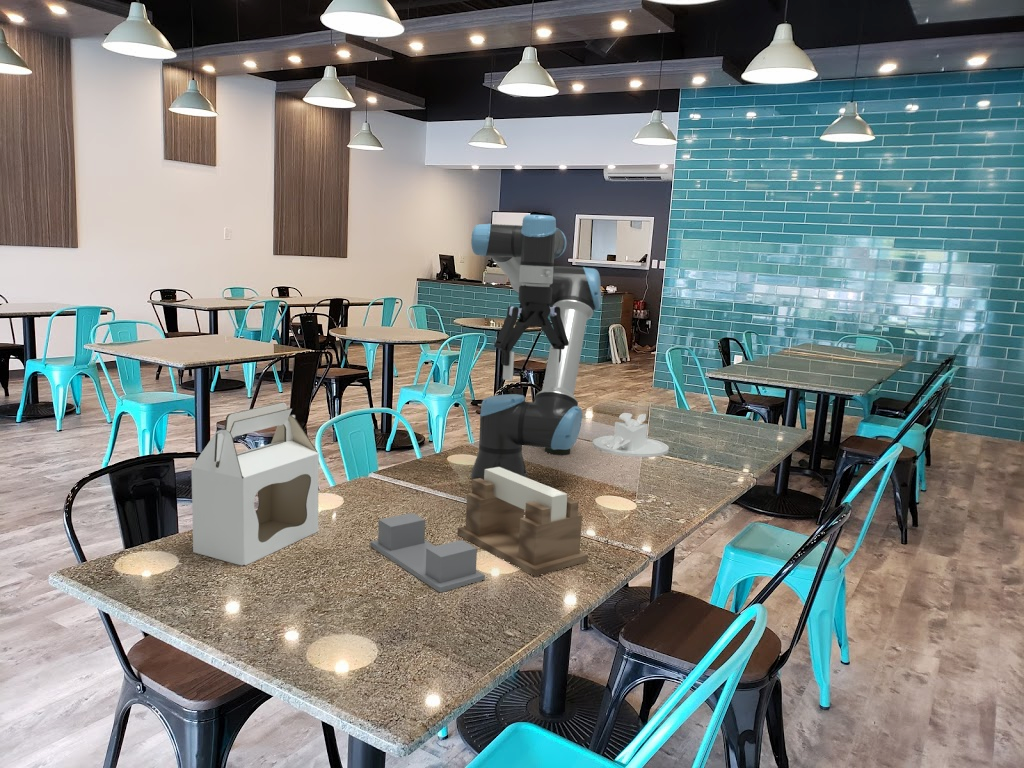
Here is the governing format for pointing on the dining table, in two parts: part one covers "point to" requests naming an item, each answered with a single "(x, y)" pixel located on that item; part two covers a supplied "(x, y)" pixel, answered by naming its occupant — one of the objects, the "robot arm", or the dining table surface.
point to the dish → (630, 439)
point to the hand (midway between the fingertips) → (530, 378)
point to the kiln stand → (426, 553)
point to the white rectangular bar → (526, 491)
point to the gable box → (255, 488)
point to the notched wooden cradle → (523, 531)
